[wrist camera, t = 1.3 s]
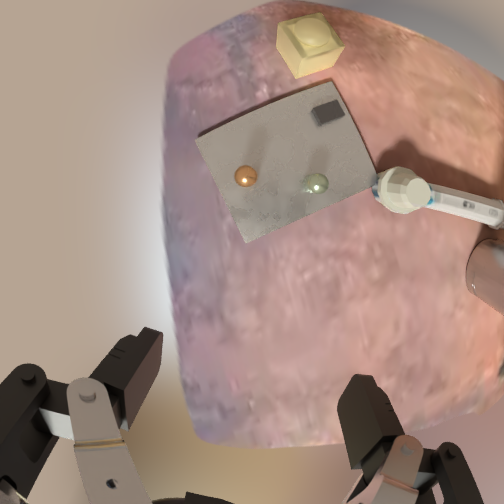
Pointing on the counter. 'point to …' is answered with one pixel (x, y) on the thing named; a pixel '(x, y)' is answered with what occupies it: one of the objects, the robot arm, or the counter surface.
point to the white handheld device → (434, 198)
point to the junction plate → (287, 160)
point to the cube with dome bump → (308, 44)
